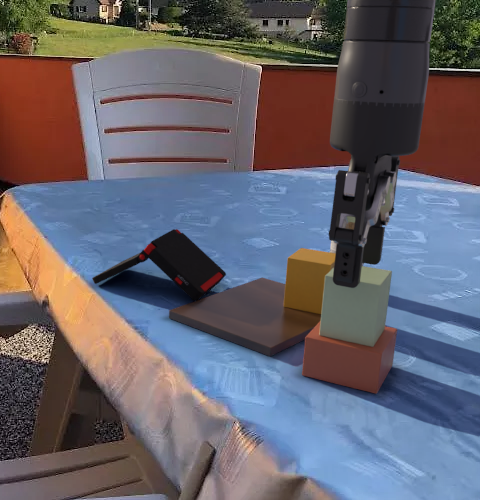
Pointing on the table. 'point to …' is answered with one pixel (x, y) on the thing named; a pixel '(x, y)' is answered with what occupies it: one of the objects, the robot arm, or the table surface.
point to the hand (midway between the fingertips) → (357, 273)
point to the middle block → (356, 307)
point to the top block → (307, 279)
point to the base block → (349, 360)
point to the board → (250, 317)
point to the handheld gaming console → (175, 264)
